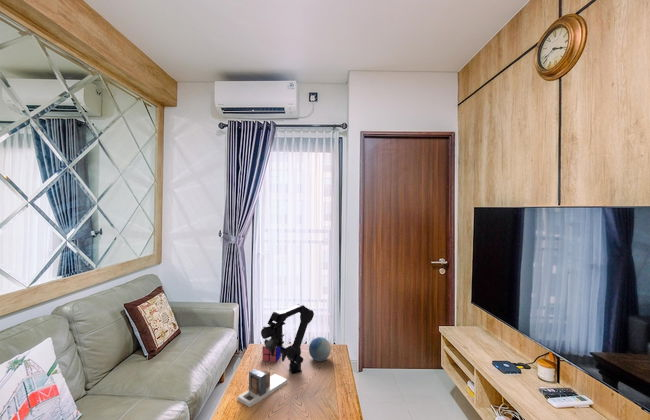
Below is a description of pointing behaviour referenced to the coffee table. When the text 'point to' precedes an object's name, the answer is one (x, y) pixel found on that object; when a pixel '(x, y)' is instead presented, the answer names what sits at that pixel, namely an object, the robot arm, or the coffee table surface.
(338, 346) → the coffee table surface
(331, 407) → the coffee table surface
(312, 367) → the coffee table surface
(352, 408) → the coffee table surface
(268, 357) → the puzzle cube
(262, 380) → the tunnel
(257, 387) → the walnut bar
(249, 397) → the plate
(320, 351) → the decorative ball
